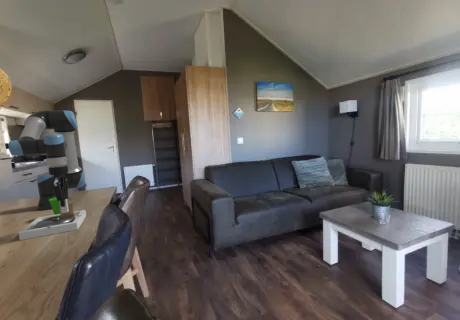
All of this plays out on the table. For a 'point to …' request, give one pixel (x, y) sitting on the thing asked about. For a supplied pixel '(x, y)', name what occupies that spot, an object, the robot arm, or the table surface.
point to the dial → (58, 218)
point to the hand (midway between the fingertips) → (65, 212)
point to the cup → (55, 205)
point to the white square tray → (33, 232)
